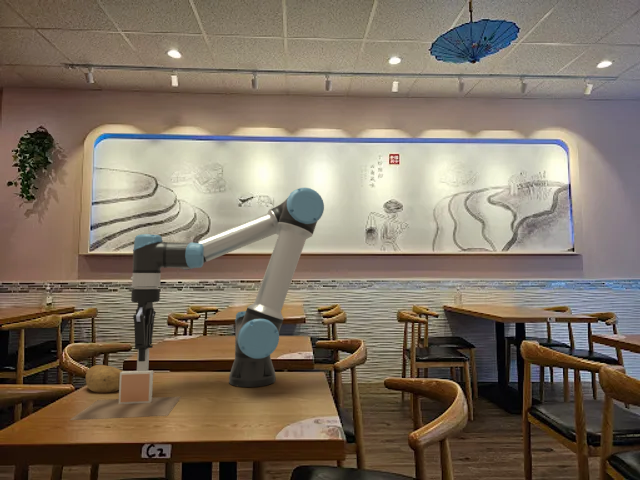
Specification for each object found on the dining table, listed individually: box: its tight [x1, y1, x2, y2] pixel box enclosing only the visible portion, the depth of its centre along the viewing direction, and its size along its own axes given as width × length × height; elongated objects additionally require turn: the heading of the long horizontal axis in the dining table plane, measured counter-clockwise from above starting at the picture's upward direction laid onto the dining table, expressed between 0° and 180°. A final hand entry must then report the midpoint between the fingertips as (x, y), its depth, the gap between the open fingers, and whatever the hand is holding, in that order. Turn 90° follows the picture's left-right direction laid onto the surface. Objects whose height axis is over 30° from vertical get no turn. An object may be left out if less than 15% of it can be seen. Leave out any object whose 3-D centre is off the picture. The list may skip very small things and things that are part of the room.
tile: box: [118, 370, 154, 404], centre depth 108 cm, size 8×2×8 cm, turn 98°
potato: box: [85, 364, 124, 394], centre depth 121 cm, size 10×14×8 cm
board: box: [69, 396, 182, 421], centre depth 104 cm, size 22×16×1 cm
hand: (142, 372), depth 114 cm, fingers closed
